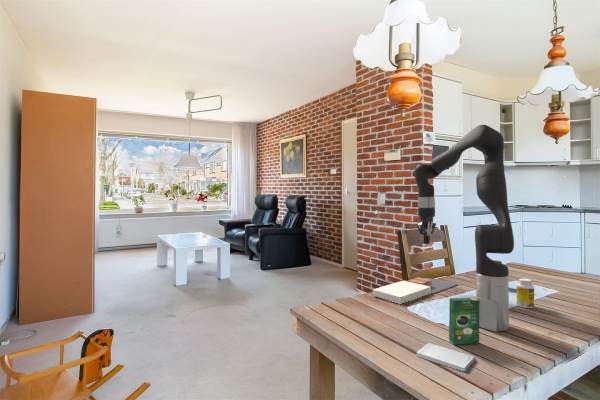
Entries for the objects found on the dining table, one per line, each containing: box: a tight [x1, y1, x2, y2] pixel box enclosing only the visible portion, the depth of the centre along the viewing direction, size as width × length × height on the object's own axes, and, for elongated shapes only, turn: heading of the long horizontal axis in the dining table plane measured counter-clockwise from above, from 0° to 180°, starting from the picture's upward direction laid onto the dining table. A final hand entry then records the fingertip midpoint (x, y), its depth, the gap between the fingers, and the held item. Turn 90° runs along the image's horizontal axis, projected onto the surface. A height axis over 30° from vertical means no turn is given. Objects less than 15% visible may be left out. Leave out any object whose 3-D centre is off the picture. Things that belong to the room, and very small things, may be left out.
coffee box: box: [448, 297, 480, 346], centre depth 98 cm, size 8×3×13 cm, turn 93°
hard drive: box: [416, 342, 476, 372], centre depth 89 cm, size 2×8×12 cm
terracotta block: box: [407, 277, 432, 287], centre depth 154 cm, size 8×7×3 cm
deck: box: [372, 280, 432, 305], centre depth 144 cm, size 22×14×3 cm, turn 128°
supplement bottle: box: [516, 278, 535, 309], centre depth 127 cm, size 6×6×10 cm
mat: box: [424, 277, 459, 295], centre depth 157 cm, size 22×16×1 cm
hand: (426, 243), depth 156 cm, fingers closed
